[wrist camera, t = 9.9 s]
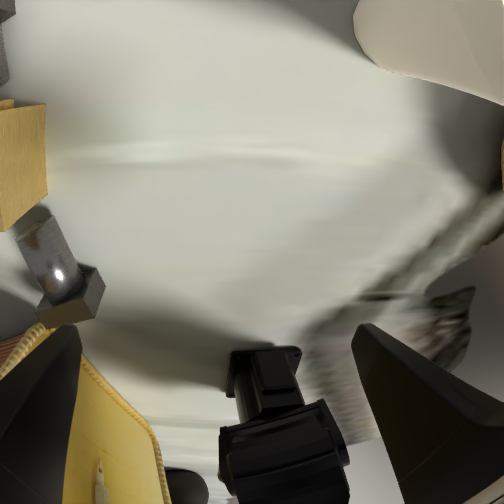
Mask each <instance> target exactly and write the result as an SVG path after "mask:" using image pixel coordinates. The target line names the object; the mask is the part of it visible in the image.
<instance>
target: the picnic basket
mask: <svg viewBox="0 0 504 504" xmlns="http://www.w3.org/2000/svg"><path fill="white" fill-rule="evenodd" d="M56 329H57V328H52V329H48V330H46V329H45V327H44V326H43V324H42V323H36V324H34V325H33V326H31V327H30V328H29V329H28V330H27V331H26V333H25V334H22V335H19V336H16V337H13V338H10V339H7V340H4V341H1V342H0V380H1V379H2V378H3V377H4V376H5V375H6V374H7V373H8V372H9V371H10V370H11V369H13V368H14V367H15V366H16V365H17V364H18V363H19V362H20V361H21V360H22V359H23V358H24V357H26V356H27V355H28V354H29V353H30V352H31V351H32V350H33V349H34V348H36V347H37V346H38V345H39V344H40V343H41V342H42V341H44V340H45V339H46V338H47V337H48V336H49V335H50V334H52V333H53V332H54V331H55V330H56ZM62 504H172V503H171V499H170V495H169V490H168V486H167V481H166V476H165V471H164V466H163V461H162V456H161V451H160V447H159V444H158V441H157V439H156V437H155V435H154V432H153V431H152V429H151V428H150V426H149V425H148V423H147V422H146V421H145V419H144V418H143V417H142V416H141V415H140V414H139V413H138V412H137V411H136V410H135V409H134V408H133V407H132V406H131V405H130V404H129V403H128V402H127V401H126V400H125V399H124V398H122V396H121V395H120V394H119V393H118V392H117V391H116V390H115V389H114V388H113V387H112V386H111V385H110V384H109V383H108V382H107V381H106V380H105V379H104V378H103V377H102V376H101V374H100V373H99V372H98V371H97V370H96V369H95V368H94V367H93V366H92V364H91V363H90V362H89V361H88V360H87V359H86V358H85V356H84V355H83V354H82V356H81V364H80V373H79V382H78V392H77V398H76V403H75V409H74V414H73V419H72V425H71V431H70V437H69V444H68V451H67V459H66V467H65V477H64V487H63V501H62Z"/></svg>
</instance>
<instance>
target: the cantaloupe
mask: <svg viewBox="0 0 504 504" xmlns="http://www.w3.org/2000/svg"><path fill="white" fill-rule="evenodd" d="M501 169H502V183H503V192H504V139H503V142H502V147H501Z"/></svg>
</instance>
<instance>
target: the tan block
mask: <svg viewBox="0 0 504 504" xmlns="http://www.w3.org/2000/svg"><path fill="white" fill-rule="evenodd" d="M45 108H46V104H41V105H33V106H26V107H20V108H14V99H6V100H0V232H5V231H6V230H7V229H8V228H9V227H10V226H11V225H13V224H14V223H15V222H16V221H17V220H18V219H19V218H20V217H21V216H23V215H24V214H25V213H26V212H27V211H28V210H29V209H31V208H32V207H33V206H34V205H35V204H37V203H38V202H39V201H40V200H41V199H43V198H44V197H45V196H46V195H47V194H48V191H47V178H46V159H45Z"/></svg>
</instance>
